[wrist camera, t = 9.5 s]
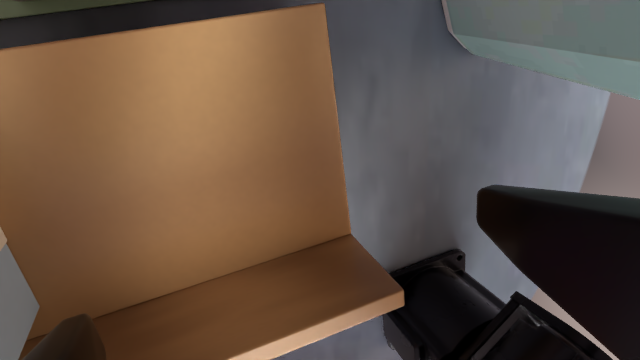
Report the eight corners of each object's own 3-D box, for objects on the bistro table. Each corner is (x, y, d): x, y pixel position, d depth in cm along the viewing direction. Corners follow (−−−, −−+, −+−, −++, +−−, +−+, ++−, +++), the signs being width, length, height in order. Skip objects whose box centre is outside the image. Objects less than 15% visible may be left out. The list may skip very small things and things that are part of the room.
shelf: (286, 7, 19) (388, -7, 11) (316, 206, 23) (405, 306, 15) (-283, 89, 13) (-993, 193, 5) (-102, 332, 18) (-326, 601, 9)
